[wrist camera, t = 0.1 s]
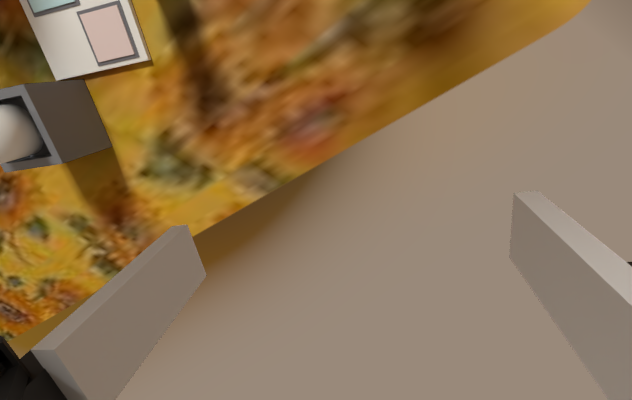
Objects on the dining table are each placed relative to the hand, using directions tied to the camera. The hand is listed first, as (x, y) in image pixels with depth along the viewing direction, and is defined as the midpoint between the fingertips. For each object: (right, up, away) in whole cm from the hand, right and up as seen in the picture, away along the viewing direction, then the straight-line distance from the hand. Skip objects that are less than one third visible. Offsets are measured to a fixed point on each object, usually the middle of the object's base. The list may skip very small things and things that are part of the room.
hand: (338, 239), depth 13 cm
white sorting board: (-29, +25, +25) cm, 46 cm away
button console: (-35, +13, +31) cm, 48 cm away
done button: (-36, +10, +25) cm, 45 cm away
